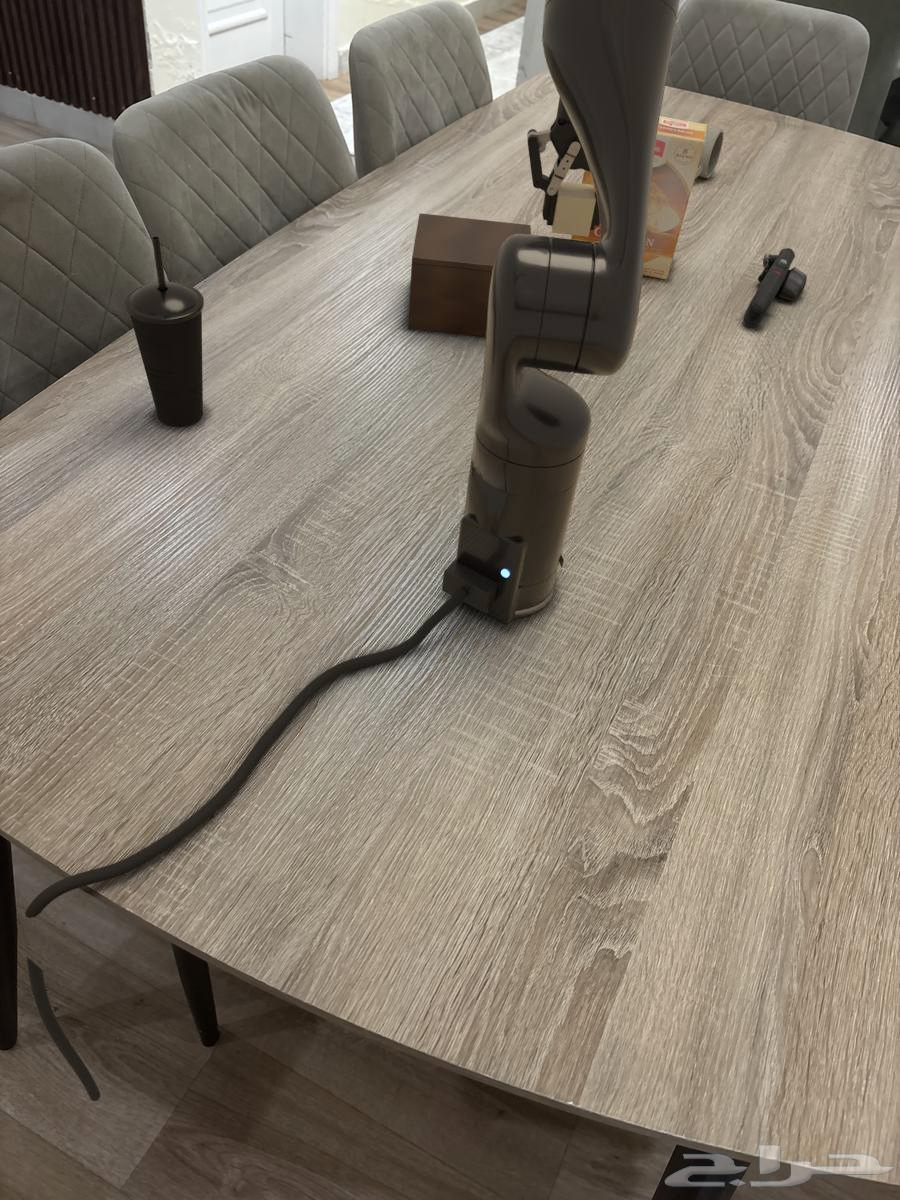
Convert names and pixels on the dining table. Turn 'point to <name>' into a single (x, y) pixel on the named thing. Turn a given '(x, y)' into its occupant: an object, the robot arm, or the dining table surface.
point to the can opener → (775, 284)
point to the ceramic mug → (710, 152)
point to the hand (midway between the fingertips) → (570, 224)
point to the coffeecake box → (666, 191)
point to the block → (574, 209)
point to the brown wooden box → (454, 272)
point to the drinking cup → (170, 344)
